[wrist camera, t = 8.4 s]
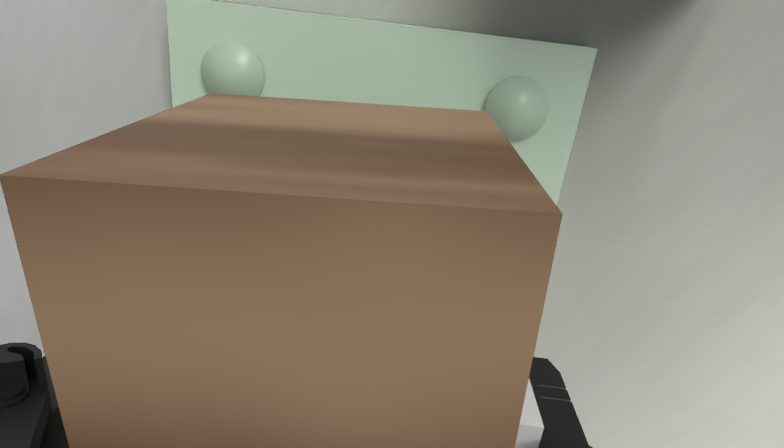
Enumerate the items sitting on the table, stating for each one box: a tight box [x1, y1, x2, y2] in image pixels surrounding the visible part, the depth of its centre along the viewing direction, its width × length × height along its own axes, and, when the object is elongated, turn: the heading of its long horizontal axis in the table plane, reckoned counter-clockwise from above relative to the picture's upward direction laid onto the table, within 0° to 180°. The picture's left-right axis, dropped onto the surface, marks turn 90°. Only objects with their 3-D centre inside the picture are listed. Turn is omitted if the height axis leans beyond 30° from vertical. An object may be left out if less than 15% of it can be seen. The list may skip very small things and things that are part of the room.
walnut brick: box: [0, 93, 562, 448], centre depth 13 cm, size 12×8×8 cm, turn 177°
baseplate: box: [166, 0, 598, 206], centre depth 22 cm, size 16×16×1 cm
